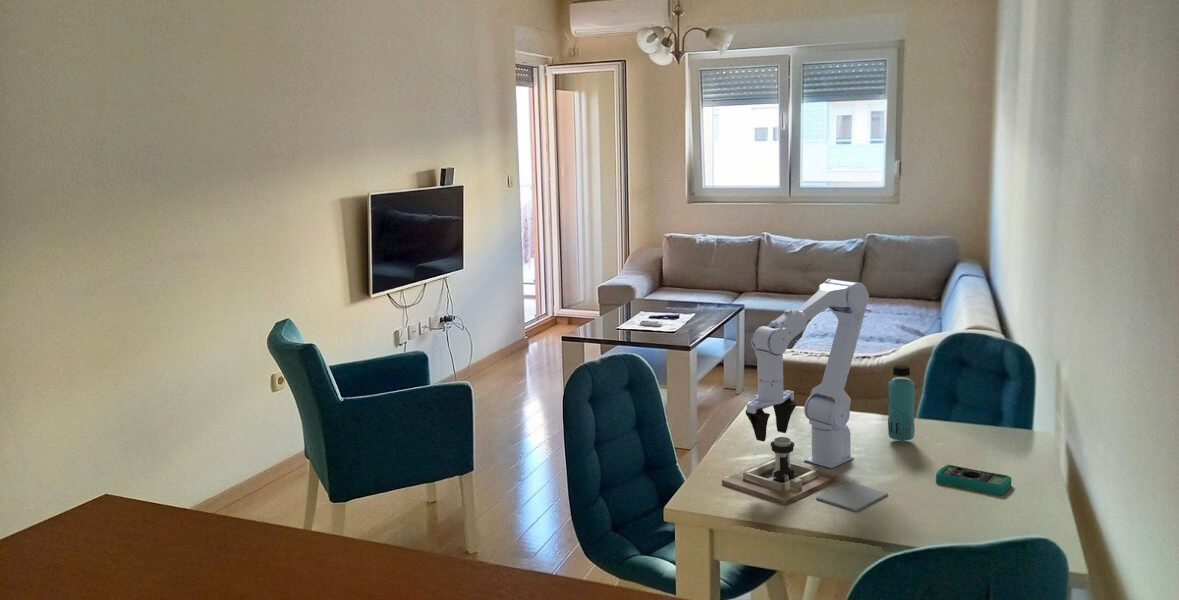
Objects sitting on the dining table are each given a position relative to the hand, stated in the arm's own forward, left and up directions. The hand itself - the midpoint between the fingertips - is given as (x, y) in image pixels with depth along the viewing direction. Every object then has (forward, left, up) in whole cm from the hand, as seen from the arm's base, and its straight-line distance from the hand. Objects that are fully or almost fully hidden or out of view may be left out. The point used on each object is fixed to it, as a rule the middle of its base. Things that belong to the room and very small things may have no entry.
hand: (771, 436), depth 210 cm
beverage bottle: (-41, +8, -11) cm, 43 cm away
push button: (0, +2, -11) cm, 11 cm away
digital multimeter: (-27, +34, -11) cm, 45 cm away
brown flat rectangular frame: (0, +2, -10) cm, 11 cm away
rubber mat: (-3, +19, -10) cm, 22 cm away
